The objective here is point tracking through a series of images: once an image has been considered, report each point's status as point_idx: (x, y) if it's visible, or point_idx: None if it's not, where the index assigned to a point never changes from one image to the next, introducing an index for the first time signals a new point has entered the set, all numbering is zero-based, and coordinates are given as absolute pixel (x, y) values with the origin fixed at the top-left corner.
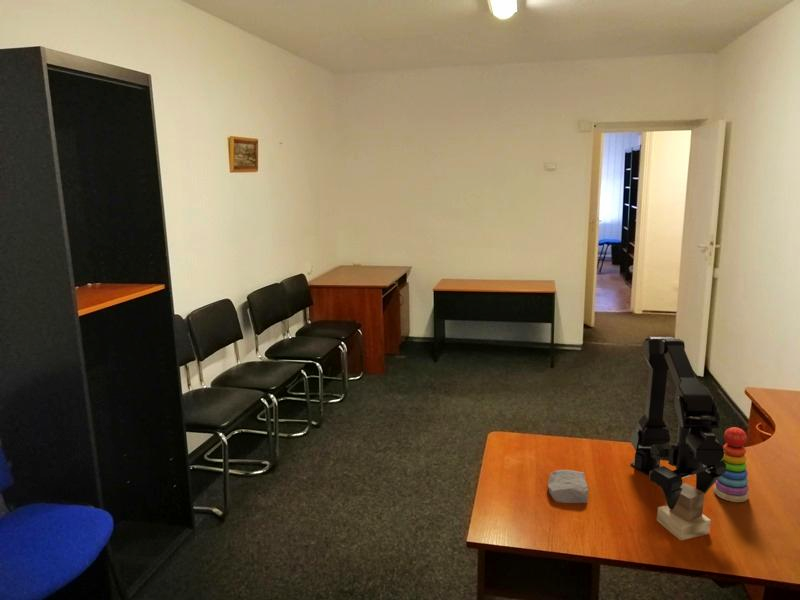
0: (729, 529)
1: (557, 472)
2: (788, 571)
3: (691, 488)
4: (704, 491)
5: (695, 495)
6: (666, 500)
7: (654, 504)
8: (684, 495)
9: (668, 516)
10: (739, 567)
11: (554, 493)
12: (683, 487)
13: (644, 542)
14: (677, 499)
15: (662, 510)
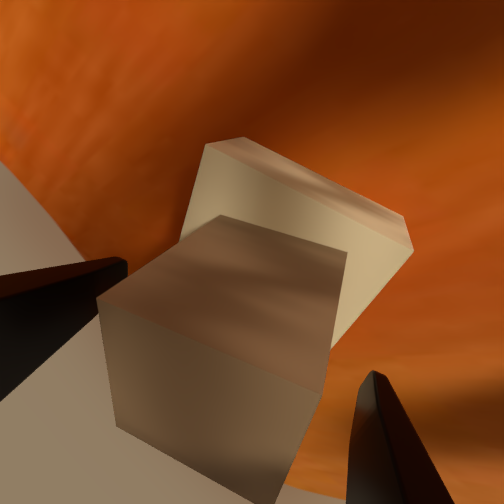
0: (406, 385)
1: None
2: (295, 482)
3: (250, 442)
4: (348, 493)
5: (179, 456)
6: (59, 268)
7: (401, 16)
8: (116, 394)
9: (186, 224)
10: None
11: None
12: (211, 382)
13: (96, 177)
14: (32, 366)
15: (197, 181)
